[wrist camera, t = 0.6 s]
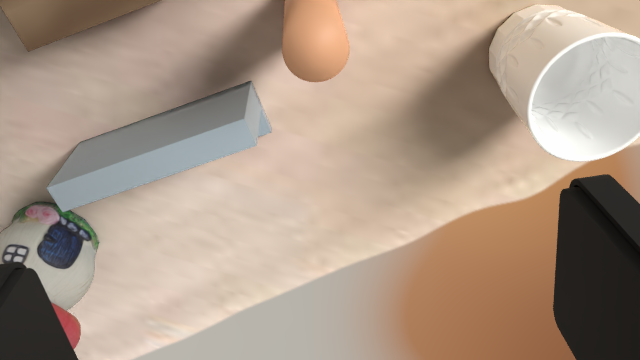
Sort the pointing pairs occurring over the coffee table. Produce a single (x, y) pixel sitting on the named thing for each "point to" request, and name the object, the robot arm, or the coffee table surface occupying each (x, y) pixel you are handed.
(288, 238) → the coffee table surface
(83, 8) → the wooden frame
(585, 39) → the white cup
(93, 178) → the wall
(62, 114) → the coffee table surface
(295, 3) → the dowel
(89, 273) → the decorative ornament
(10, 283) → the robot arm
